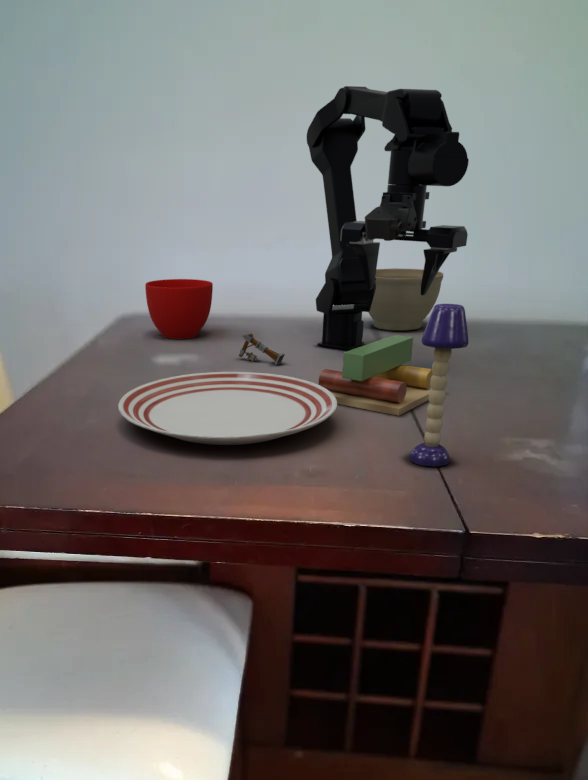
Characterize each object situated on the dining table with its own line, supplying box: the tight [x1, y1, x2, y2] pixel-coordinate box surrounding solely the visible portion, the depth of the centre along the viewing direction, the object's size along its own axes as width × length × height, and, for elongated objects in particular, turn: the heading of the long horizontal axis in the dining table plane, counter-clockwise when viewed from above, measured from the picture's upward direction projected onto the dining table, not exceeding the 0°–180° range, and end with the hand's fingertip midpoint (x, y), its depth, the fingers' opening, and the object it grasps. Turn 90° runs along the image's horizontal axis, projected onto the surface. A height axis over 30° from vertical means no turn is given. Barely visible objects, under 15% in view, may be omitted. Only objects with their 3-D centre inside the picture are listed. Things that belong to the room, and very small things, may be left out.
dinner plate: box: [117, 371, 338, 446], centre depth 94 cm, size 27×27×3 cm
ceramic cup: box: [144, 278, 214, 340], centre depth 146 cm, size 13×17×10 cm
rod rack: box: [318, 364, 433, 417], centre depth 105 cm, size 14×14×4 cm
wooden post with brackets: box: [238, 332, 286, 366], centre depth 125 cm, size 2×8×4 cm, turn 58°
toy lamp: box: [409, 303, 469, 467], centre depth 79 cm, size 5×5×17 cm
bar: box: [342, 334, 414, 381], centre depth 104 cm, size 3×15×4 cm, turn 141°
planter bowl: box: [367, 267, 444, 331], centre depth 151 cm, size 16×16×11 cm
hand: (395, 292), depth 118 cm, fingers open, 9 cm apart
